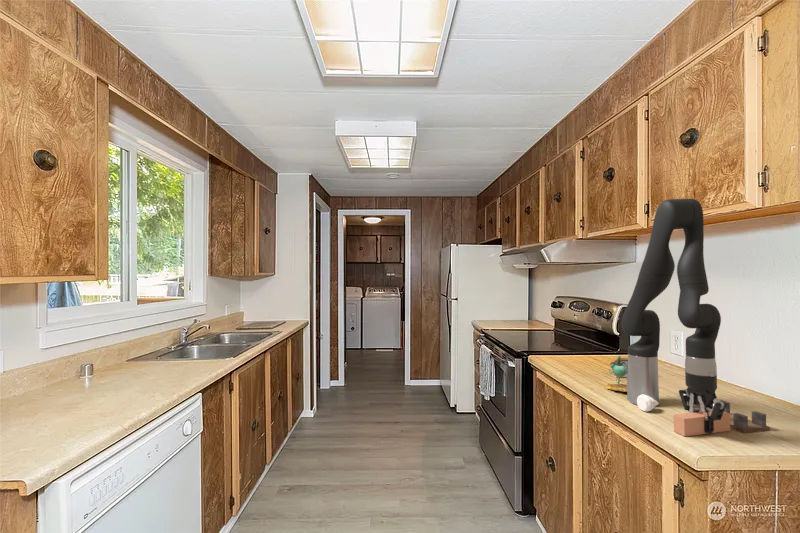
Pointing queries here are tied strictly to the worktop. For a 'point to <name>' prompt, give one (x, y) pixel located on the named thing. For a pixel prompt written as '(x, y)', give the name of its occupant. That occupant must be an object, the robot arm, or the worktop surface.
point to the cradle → (746, 421)
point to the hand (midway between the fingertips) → (702, 429)
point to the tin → (624, 364)
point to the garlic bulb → (646, 403)
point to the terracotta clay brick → (698, 423)
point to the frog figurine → (619, 372)
